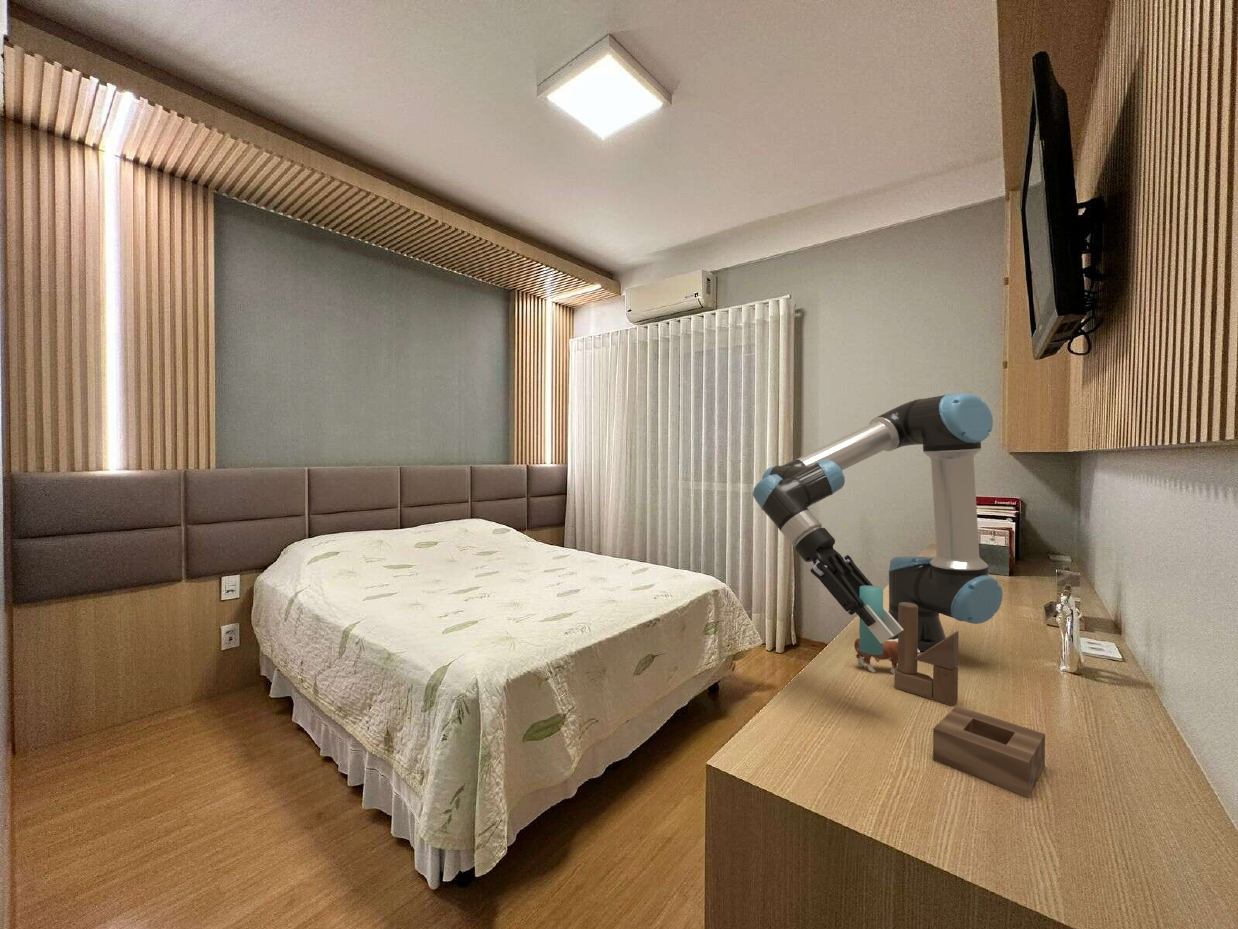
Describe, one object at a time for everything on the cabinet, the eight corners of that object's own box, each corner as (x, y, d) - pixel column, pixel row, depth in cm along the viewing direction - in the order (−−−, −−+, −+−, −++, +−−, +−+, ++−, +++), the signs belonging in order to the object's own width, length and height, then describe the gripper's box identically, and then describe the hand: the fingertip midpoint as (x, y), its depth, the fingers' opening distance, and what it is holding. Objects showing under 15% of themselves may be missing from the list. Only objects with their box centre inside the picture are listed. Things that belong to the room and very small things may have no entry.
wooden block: (952, 707, 98) (954, 615, 98) (893, 688, 106) (894, 603, 106) (958, 701, 101) (959, 611, 101) (899, 683, 108) (901, 600, 108)
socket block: (956, 734, 88) (956, 705, 88) (1044, 765, 79) (1045, 734, 79) (932, 759, 80) (933, 728, 80) (1028, 798, 71) (1028, 762, 71)
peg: (864, 645, 98) (865, 584, 98) (886, 651, 95) (886, 588, 95) (855, 650, 95) (856, 587, 95) (877, 656, 92) (878, 591, 92)
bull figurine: (921, 680, 110) (921, 643, 110) (854, 671, 115) (855, 635, 115) (916, 672, 115) (917, 636, 115) (852, 663, 119) (852, 629, 119)
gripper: (816, 544, 112) (895, 637, 100) (775, 552, 101) (857, 658, 89) (840, 522, 108) (925, 616, 96) (799, 529, 97) (889, 636, 85)
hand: (892, 636), depth 92 cm, fingers closed on peg, 4 cm apart
